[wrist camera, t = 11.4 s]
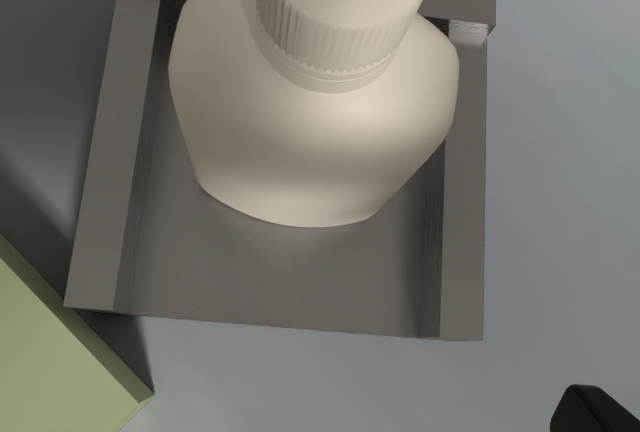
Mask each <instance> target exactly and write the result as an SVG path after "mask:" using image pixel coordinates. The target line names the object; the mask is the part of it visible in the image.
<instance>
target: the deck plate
mask: <svg viewBox="0 0 640 432" xmlns="http://www.w3.org/2000/svg"><path fill="white" fill-rule="evenodd" d="M63 304H64V299H63V298H62V297H61V296H60V295H59V294H58V293H57V292H56V291H55V290H54V289H53V288H52V287H51V286H50V284H49V283H48V282H47V281H46V280H45V279H44V278H43V277H42V276H41V275H40V274H39V273H38V272H37V271H36V270H35V269H34V268H33V267H32V266H31V265H30V264H29V263H28V261H27V260H26V259H25V258H24V257H23V256H22V255H21V254H20V253H19V252H18V251H17V250H16V249H15V248H14V247H13V246H12V245H11V244H10V243H9V242H8V241H7V240H6V238H5V237H4V236H3V235H2V234H1V233H0V432H118V431H119V430H120V429H121V428H122V427H123V426H124V425H125V424H126V423H127V422H128V421H129V420H130V419H131V418H132V417H133V416H134V415H135V414H136V413H137V412H138V411H139V410H140V409H141V408H142V407H143V406H144V405H145V404H146V403H147V402H148V401H149V400H150V399H151V398H152V397H153V396H154V395H155V394H154V393H153V392H152V391H151V390H150V389H149V388H148V387H147V386H146V385H145V384H144V383H143V382H142V381H141V380H140V379H139V377H138V376H137V375H136V374H135V373H134V372H133V371H132V370H131V369H130V368H129V367H128V366H127V365H126V364H125V363H124V362H123V361H122V360H121V359H120V358H119V357H118V356H117V354H116V353H115V352H114V351H113V350H112V349H111V348H110V347H109V346H108V345H107V344H106V343H105V342H104V341H103V340H102V339H101V338H100V337H99V336H98V335H97V334H96V333H95V332H94V330H93V329H92V328H91V327H90V326H89V325H88V324H87V323H86V322H85V321H84V320H83V319H82V318H81V317H80V316H79V315H78V314H77V313H76V312H75V311H74V310H73V309H72V308H69V307H64V306H63Z"/></svg>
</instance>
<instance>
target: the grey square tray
mask: <svg viewBox="0 0 640 432" xmlns="http://www.w3.org/2000/svg"><path fill="white" fill-rule="evenodd" d="M186 1H187V0H116V3H115V9H114V15H113V20H112V26H111V32H110V38H109V44H108V49H107V55H106V61H105V67H104V72H103V78H102V84H101V90H100V96H99V101H98V107H97V113H96V119H95V125H94V130H93V136H92V142H91V148H90V154H89V159H88V165H87V171H86V177H85V182H84V188H83V194H82V200H81V206H80V211H79V217H78V223H77V229H76V235H75V240H74V246H73V252H72V258H71V264H70V269H69V275H68V281H67V287H66V292H65V298H64V304H63V306H64V307H69V308H74V309H79V310H84V311H89V312H100V313H113V314H125V315H137V316H150V317H162V318H174V319H187V320H199V321H211V322H224V323H236V324H248V325H261V326H273V327H285V328H298V329H310V330H322V331H335V332H347V333H359V334H372V335H384V336H396V337H409V338H421V339H433V340H446V341H483V318H484V242H485V167H486V91H487V36H488V35H489V34H490V32H491V31H492V30H493V29H494V27H495V26H496V0H422V2H421V4H420V6H419V8H418V10H417V13H418V14H420V15H421V16H422V17H424V18H425V19H427V20H428V21H429V22H431V23H432V24H433V25H434V26H436V27H437V28H438V29H439V30H440V31H441V32H442V33H443V34H444V35H446V36H447V38H448V39H449V40H450V42H451V43H452V44H453V45H454V47H455V49H456V51H457V55H458V60H459V80H458V91H457V99H456V106H455V111H454V117H453V122H452V124H451V126H450V129H449V131H448V133H447V135H446V136H445V138H444V140H443V142H442V143H441V144H440V145H439V147H438V148H437V149H436V150H435V151H434V152H433V154H432V155H431V156H430V157H429V158H428V159H427V160H426V161H425V163H424V164H423V165H422V166H421V167H420V168H419V169H418V170H417V171H416V172H415V173H414V174H413V175H412V176H411V177H410V178H409V179H408V180H407V182H406V183H405V184H404V185H403V186H402V187H401V188H400V189H399V190H398V191H397V192H396V193H395V194H394V195H393V196H392V197H391V198H390V199H389V200H388V201H387V202H386V203H385V204H384V205H383V206H382V207H381V208H380V209H379V210H378V211H377V212H376V213H375V214H374V215H372V216H371V217H369V218H368V219H366V220H362V221H359V222H356V223H351V224H346V225H340V226H332V227H295V226H287V225H281V224H276V223H272V222H268V221H264V220H261V219H258V218H255V217H252V216H250V215H247V214H245V213H242V212H240V211H238V210H236V209H234V208H232V207H230V206H228V205H226V204H224V203H223V202H221V201H219V200H218V199H216V198H214V197H213V196H212V195H210V194H209V193H208V192H206V191H205V190H204V189H203V188H202V186H201V185H200V184H199V182H198V180H197V178H196V175H195V172H194V169H193V165H192V162H191V159H190V156H189V153H188V150H187V147H186V143H185V140H184V137H183V133H182V130H181V127H180V123H179V120H178V117H177V114H176V110H175V106H174V102H173V98H172V94H171V90H170V82H169V71H168V65H169V59H170V53H171V48H172V44H173V40H174V35H175V31H176V27H177V23H178V20H179V17H180V14H181V11H182V8H183V5H184V4H185V2H186Z"/></svg>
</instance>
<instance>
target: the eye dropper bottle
mask: <svg viewBox="0 0 640 432" xmlns="http://www.w3.org/2000/svg"><path fill="white" fill-rule="evenodd" d="M421 2H422V0H187V1H186V2H185V4H184V5H183V8H182V11H181V14H180V17H179V20H178V23H177V27H176V31H175V35H174V40H173V44H172V48H171V53H170V59H169V65H168V71H169V82H170V90H171V94H172V98H173V102H174V106H175V110H176V114H177V117H178V120H179V123H180V127H181V130H182V133H183V137H184V140H185V143H186V147H187V150H188V153H189V156H190V159H191V162H192V165H193V169H194V172H195V175H196V178H197V180H198V182H199V184H200V185H201V186H202V188H203V189H204V190H205V191H206V192H208V193H209V194H210V195H212V196H213V197H214V198H216V199H218V200H219V201H221V202H223V203H224V204H226V205H228V206H230V207H232V208H234V209H236V210H238V211H240V212H242V213H245V214H247V215H250V216H252V217H255V218H258V219H261V220H264V221H268V222H272V223H276V224H281V225H287V226H295V227H332V226H340V225H346V224H351V223H356V222H359V221H362V220H366V219H368V218H369V217H371V216H372V215H374V214H375V213H376V212H377V211H378V210H379V209H380V208H381V207H382V206H383V205H384V204H385V203H386V202H387V201H388V200H389V199H390V198H391V197H392V196H393V195H394V194H395V193H396V192H397V191H398V190H399V189H400V188H401V187H402V186H403V185H404V184H405V183H406V182H407V180H408V179H409V178H410V177H411V176H412V175H413V174H414V173H415V172H416V171H417V170H418V169H419V168H420V167H421V166H422V165H423V164H424V163H425V161H426V160H427V159H428V158H429V157H430V156H431V155H432V154H433V152H434V151H435V150H436V149H437V148H438V147H439V145H440V144H441V143H442V142H443V140H444V138H445V136H446V135H447V133H448V131H449V129H450V126H451V124H452V122H453V117H454V111H455V106H456V99H457V91H458V80H459V60H458V55H457V51H456V49H455V47H454V45H453V44H452V43H451V42H450V40H449V39H448V38H447V36H446V35H444V34H443V33H442V32H441V31H440V30H439V29H438V28H437V27H436V26H434V25H433V24H432V23H431V22H429V21H428V20H427V19H425V18H424V17H422V16H421V15H420V14H418V13H417V10H418V8H419V6H420V4H421Z"/></svg>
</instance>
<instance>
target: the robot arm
mask: <svg viewBox="0 0 640 432" xmlns="http://www.w3.org/2000/svg"><path fill="white" fill-rule="evenodd" d="M550 432H640V420H638V419H637V418H636V417H635V416H633V415H632V414H631V413H630V412H629V411H627V410H626V409H625V408H624V407H623V406H621V405H620V404H619V403H618V402H617V401H615V400H614V399H613V398H612V397H611V396H609V395H608V394H607V393H606V392H604V391H603V390H602V389H600V388H599V387H597V386H593V385H577V384H574V385H570V386H569V387H568V388H567V389H566V390H565V392H564V394H563V396H562V398H561V400H560V402H559V404H558V406H557V408H556V410H555V412H554V414H553V416H552V418H551V422H550Z"/></svg>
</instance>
